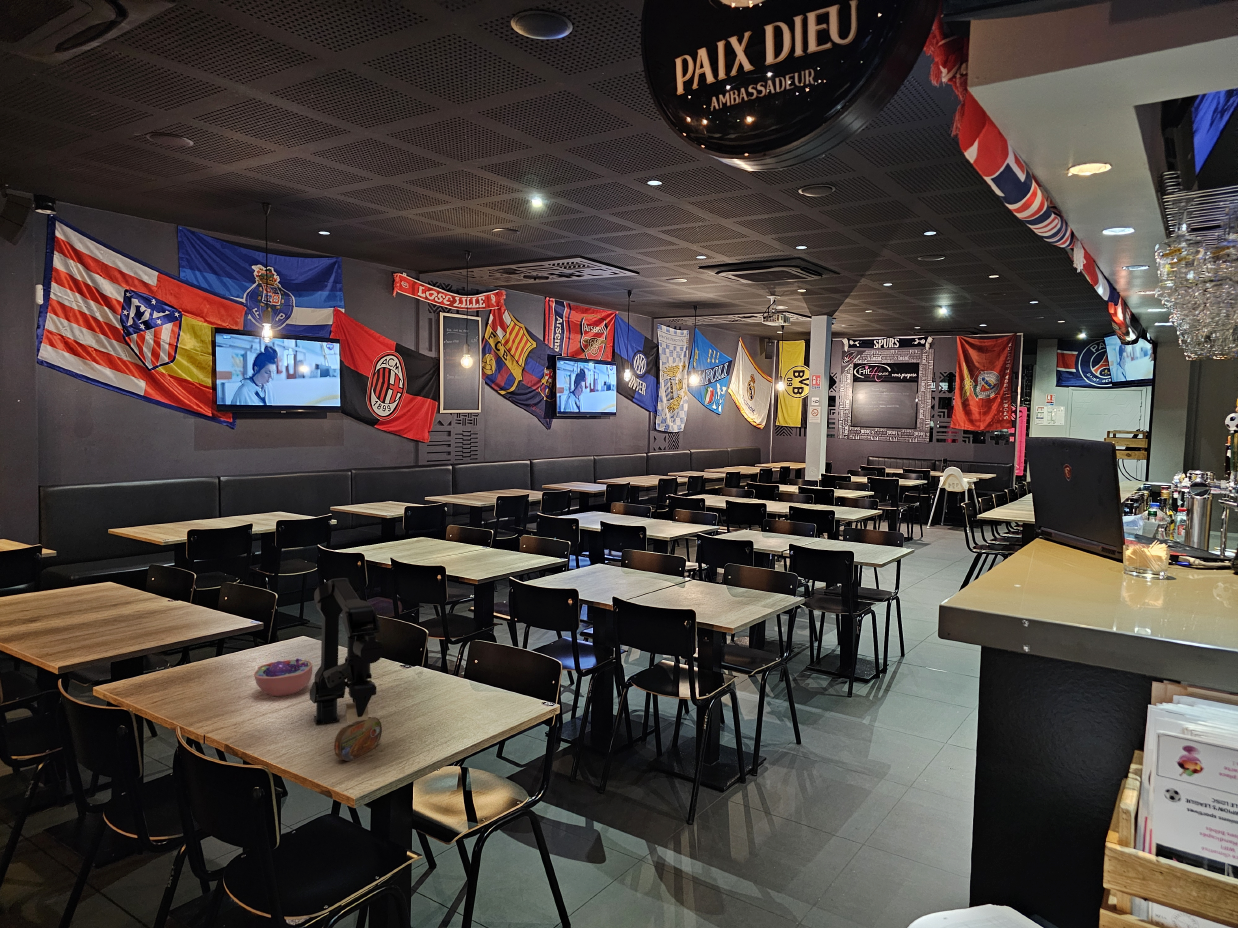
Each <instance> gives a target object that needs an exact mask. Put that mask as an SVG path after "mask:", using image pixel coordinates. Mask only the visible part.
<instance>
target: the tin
mask: <svg viewBox="0 0 1238 928" xmlns="http://www.w3.org/2000/svg"><path fill="white" fill-rule="evenodd" d="M382 733H383V726H382V723H381V720H380V719H379V718H378V717H376V716H373V717H372V716H371V717H370V716H368V720H362V721H355V722H351V723H350V724H348V725H346V726H344V727H342V728H340V730H339V732H338V733H337V735H336V737H335V738H334V749H333V750H334V754H335V756H336V758H337V759H339V760H342V761H346V762H351V761H354V760H356V759H357V758H359V757H361V756H362V755H364V754H366V753H368V752H370V751H372V750H374V749H376V747H377V746H378V744H379V742H380V741H381V737H382Z"/></svg>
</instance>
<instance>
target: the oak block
mask: <svg viewBox="0 0 1238 928" xmlns="http://www.w3.org/2000/svg"><path fill="white" fill-rule="evenodd" d="M344 704H345V706H344V717H345V720H346V722H347V723H354V722H356V721H362V720H368V717H369V706H368V705H367V707H366V709H365V711H364V714H363V716H362V717H358V716H357V711H356V706H355V703H353V702H350V703H344Z"/></svg>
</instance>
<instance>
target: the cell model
mask: <svg viewBox="0 0 1238 928" xmlns="http://www.w3.org/2000/svg"><path fill="white" fill-rule="evenodd" d="M312 675H313V662H311V661H310V660H307V659H302V658H298V657H297V658H295V659H288V660H277V661H274V662H268V663H265V664H262V665H259V666H258V667H257V670H256V671H255V672H254V673H253V677H254V680H255V685H256V687H258V688H259V689H260V690H261V691H262V692H263V693H265V694H266V695H270V696H272V697H276V698H278V697H279V698H280V697H286V696H290V695H293V694H296V693H298V692H300V691H301V690H302V689H304V688H305V687H306V686H308V685H309V683H310V681H311V679H312Z"/></svg>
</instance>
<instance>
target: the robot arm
mask: <svg viewBox="0 0 1238 928" xmlns="http://www.w3.org/2000/svg"><path fill="white" fill-rule="evenodd" d="M313 598H314V599H313V600H314V603H315V606H316V609H317V610H318V611H319V613H320V614H321V649H320V651H321V652H320V653H321V654H320V656H321V657H320V666H319V667H318V669H317V671H316V672H314V673H315V674H314V681H313V682H312V684H311V687H310V690H309V693H308V694H309V700H310V701H311V703H313V705H314V704H315V705H316V707H315V708H316V709H315V710H316V712H315V715H314V716H313V720H314V723H315V725H324V724H330V723H331V724H332V723H337V722H340V721H341V719H340V716H339V713H338V700H339V699H345V694H346V688H347V689H348V692H347V694H348V696H349V697H350V698H351V699H352V703H355V706H356V711H357V716H358V717H362V716H363V714H364V711H365V709H366V707H367V706H368V704H369V703H370V700H371V699H372V697H373V696H376V695H377V685H376V683H375V682H373V680H371V679H372V676H373V675H372V672H371V664H374V663H376V662H378V661H379V660H380V659H382V656H383V655H384V646H383V644H382V643H381V642H380V641H379V640H377V637H376V635H375V634H379V633H381V630H380V628H381V624H380V619H379V617H378V614H377V611H376V609H375V608H374V607H373V605H372V604H370V602H368V601H366V600H362V599H360V597H359V596H358V595H357V593H356V592H355V590H354V589H353V587H352V586H351V583H350V580H349V578H348V577H347V578H346V577H339V578H338V577H337V578H332V579H330V580H328V581H327V582H325V583H323V584H320V585H319V586H317V588H316V590H315V591H314V594H313ZM341 614H342V616H341ZM340 616H341V617H342V618H341V619H342V620H341V621H342V624H343V627H344V630H345V632H346V637H347V638H346V639H347V641H346V643H347V645H346V646H347V647H346V649H347V651H346V653H347V654H346V657H345V658H344V662H343V663H340V664H339V642H340V641H339V638H340V636H339V634H340V632H339V631H340Z"/></svg>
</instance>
